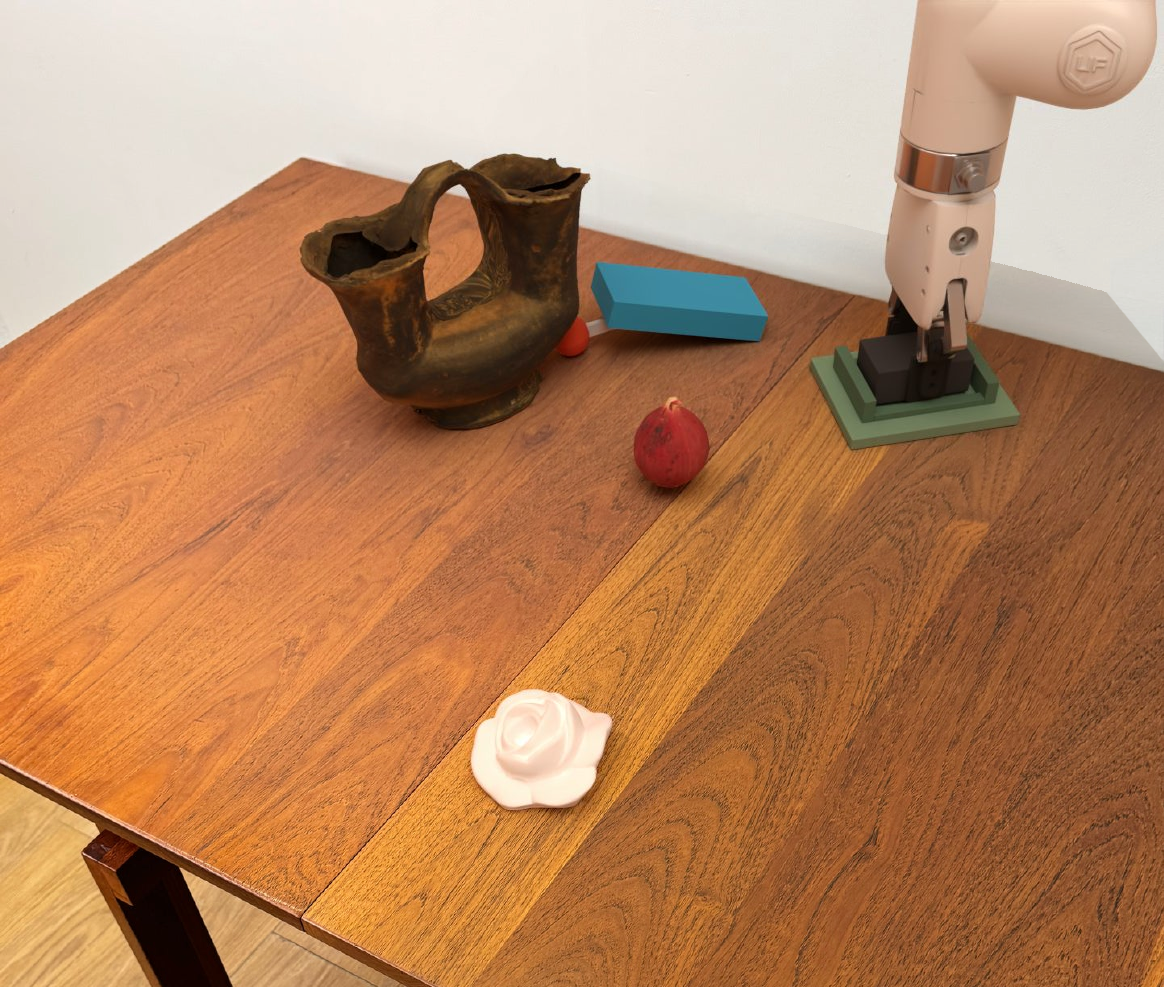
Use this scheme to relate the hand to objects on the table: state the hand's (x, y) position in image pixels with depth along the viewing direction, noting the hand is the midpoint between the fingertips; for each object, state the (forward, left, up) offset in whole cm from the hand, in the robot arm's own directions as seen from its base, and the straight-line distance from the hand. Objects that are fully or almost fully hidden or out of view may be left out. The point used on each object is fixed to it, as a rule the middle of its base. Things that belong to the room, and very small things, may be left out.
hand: (912, 376), depth 104 cm
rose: (+36, +33, -2) cm, 49 cm away
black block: (0, 0, 0) cm, 0 cm away
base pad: (0, 0, -2) cm, 2 cm away
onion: (+22, +7, -2) cm, 23 cm away
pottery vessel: (+36, -9, -2) cm, 37 cm away
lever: (+19, -14, -2) cm, 24 cm away
